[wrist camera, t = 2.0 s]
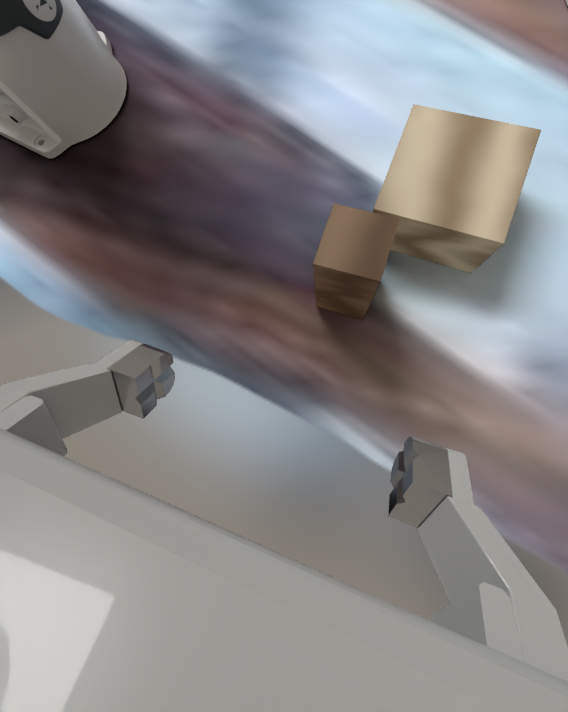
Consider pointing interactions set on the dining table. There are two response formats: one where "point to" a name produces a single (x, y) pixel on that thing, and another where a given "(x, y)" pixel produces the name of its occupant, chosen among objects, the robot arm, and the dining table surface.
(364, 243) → the walnut pillar
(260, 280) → the dining table surface
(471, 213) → the beech block
